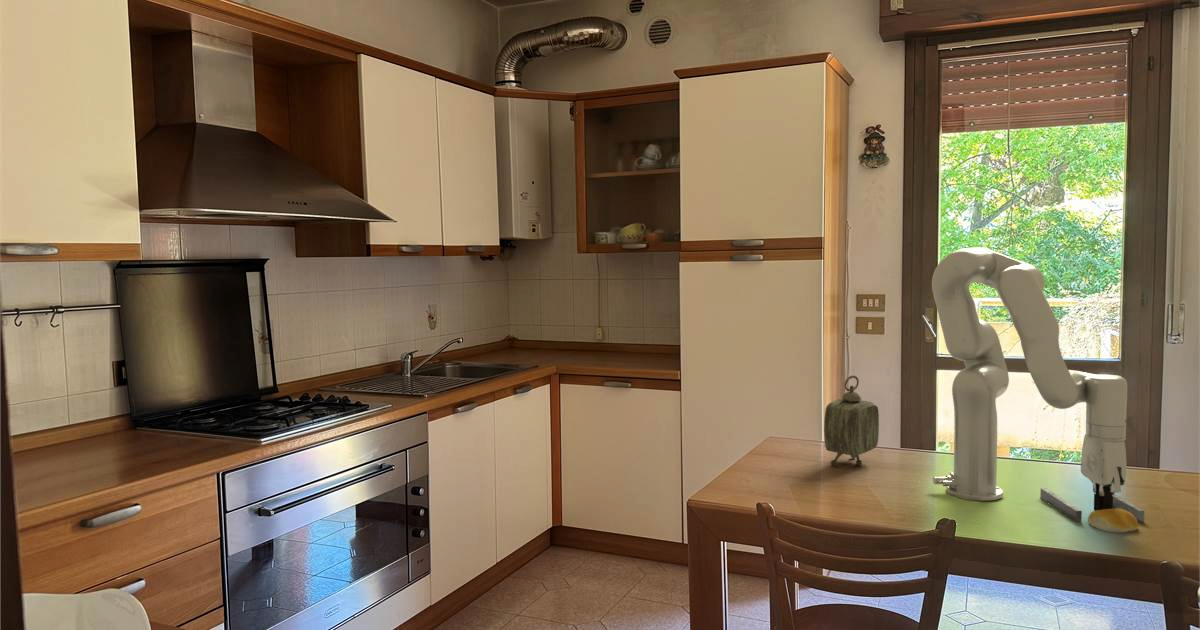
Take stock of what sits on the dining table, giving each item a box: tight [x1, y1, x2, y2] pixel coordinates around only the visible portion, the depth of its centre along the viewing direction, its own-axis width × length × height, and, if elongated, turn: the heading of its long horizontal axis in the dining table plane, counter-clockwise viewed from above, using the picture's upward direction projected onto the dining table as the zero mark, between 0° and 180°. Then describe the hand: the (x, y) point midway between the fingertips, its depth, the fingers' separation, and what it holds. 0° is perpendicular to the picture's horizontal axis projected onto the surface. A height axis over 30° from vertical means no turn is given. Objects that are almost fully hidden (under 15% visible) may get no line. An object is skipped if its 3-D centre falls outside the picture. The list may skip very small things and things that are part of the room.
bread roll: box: [1087, 508, 1139, 534], centre depth 173 cm, size 8×9×4 cm
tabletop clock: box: [823, 375, 880, 467], centre depth 223 cm, size 14×9×25 cm, turn 133°
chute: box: [1039, 487, 1145, 523], centre depth 183 cm, size 14×16×2 cm
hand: (1103, 511), depth 178 cm, fingers closed
